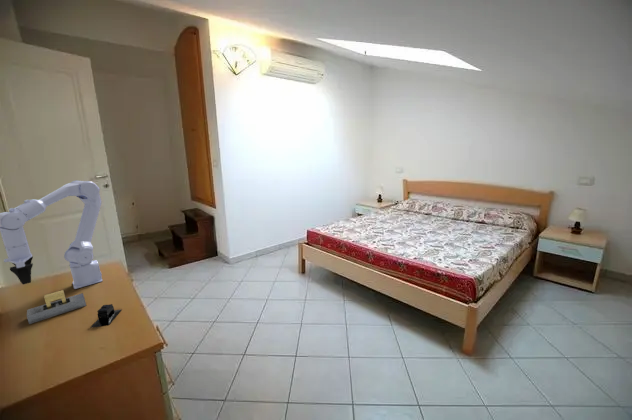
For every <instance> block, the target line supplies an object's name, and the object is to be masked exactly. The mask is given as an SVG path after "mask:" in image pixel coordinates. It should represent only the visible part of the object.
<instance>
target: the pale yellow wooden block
mask: <svg viewBox="0 0 632 420" xmlns="http://www.w3.org/2000/svg"><path fill="white" fill-rule="evenodd" d="M64 291H65V290H64V289H62V290H59V291H55V292H52V293H47V294H44V295H43V296H44V297H43V298H44V302H45V304H46V305H47V309H50V308H52V306H51V302H55V301H58V300H61V299H62V303H63V304H66V303H67V302H66V298H67V297H66V295H65V292H64Z"/></svg>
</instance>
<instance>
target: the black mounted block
mask: <svg viewBox="0 0 632 420" xmlns="http://www.w3.org/2000/svg"><path fill="white" fill-rule="evenodd" d="M122 310H123V309H122V308H121V309H115V307H114V306H113V304H112V303H111V304H104V305H102V306H101V307H100V308H99V309H97V314H96V315H97V319H96V321H95V322H94V323H93V324H92V325H91V326H90V329H92V328H100V327H107V326H110V325H111V324H112V323H113V321H114V320H115V319H116V318H117V316H119V314H121V312H122Z"/></svg>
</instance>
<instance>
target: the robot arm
mask: <svg viewBox="0 0 632 420" xmlns="http://www.w3.org/2000/svg"><path fill="white" fill-rule="evenodd" d="M100 190H101V188H100V187H99V185H97V184H96V183H95V182H94V181H91V180H90V181H89V180H77V179H76V180H72V181H71V182H69V183H65V184H64V185H62V186H60V187H59V188H57V189H55V190H53V191H52V192H50V193H48V194H46V195H44V196H43V197H41V198H40V199H35V198H32V199H25V200H23V203H21V204H19V205H18V206H16V207H14V208H13V207H10V208H8V211H4V212H0V236H1V239H2V243H3V245H4V249H5V251H6V252H5V253H6V255H7V258H4V259H3V263H11V264H13V266H10V267H9V270H10V272H11V273H13V274H14V275H15V276H16V278H18V280H19V281H20V284H22V285H26V284H27V285H28V284H31V282H32V269H33V265H34V264H33V262H32V261H33V257H34V256H33V254H32V252H31V249H30V246H29V242H28V239H27V235H26V231H25V228H24V226H25V224H26V223H27V222H29V221H30V220H32V219H34V218H35V217H37V216H39V215H41V214H43V213H45V212H46V210H47V207H48V206H50V205H53V204H54V203H57V202H59V201H61V200H63V199H65V198H67V197H77V198H78V199H80V200H81V202H82V203H83V204H84V206H83V209H82V213H81V217H80V219H79V224H78V227H77V231H76V234H75V238H74V240H73V241H72V242H71V243H70V244H69V246H68V249H66V251H65V252H64V254H63V255H64V256H63V258H64V259H65V260H66V262H68V263H69V268H70V269H69V270H70V272H71V277H72V280H73V281H72V286H73V289H74V290H76V289H79V288H83V287H88V286H91V285H94V284H98V283H101V282H103V277H102V271H101V269H100V264H99V262H98V260H97V259H96V260H94V257H95V256H94V251H93V250H94V246H93V243H92V239H93V235H94V231H95V228H96V225H97V221H98V217H99V213H100V209H101V206H102V199H101V194H100Z"/></svg>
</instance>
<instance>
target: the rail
mask: <svg viewBox="0 0 632 420" xmlns="http://www.w3.org/2000/svg"><path fill="white" fill-rule="evenodd" d="M65 298H66V302H67V303H66V304H63V303H62V299H58V300H54V301H51V306H52V308H50V309H47V305H46V303H45V304H42V305H39V306H35V307H32V308H27V309H26V318H27V322H28V325H31V324H34V323H37V322H40V321H44V320H47V319H49V318H53V317H56V316H59V315H62V314H65V313H69V312H71V311H74V310H77V309H80V308H84V307H86V306H87V302H86V299H85V296H84V293H83V292H82V293H78V294H76V295H71V296H69V297H65Z"/></svg>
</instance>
